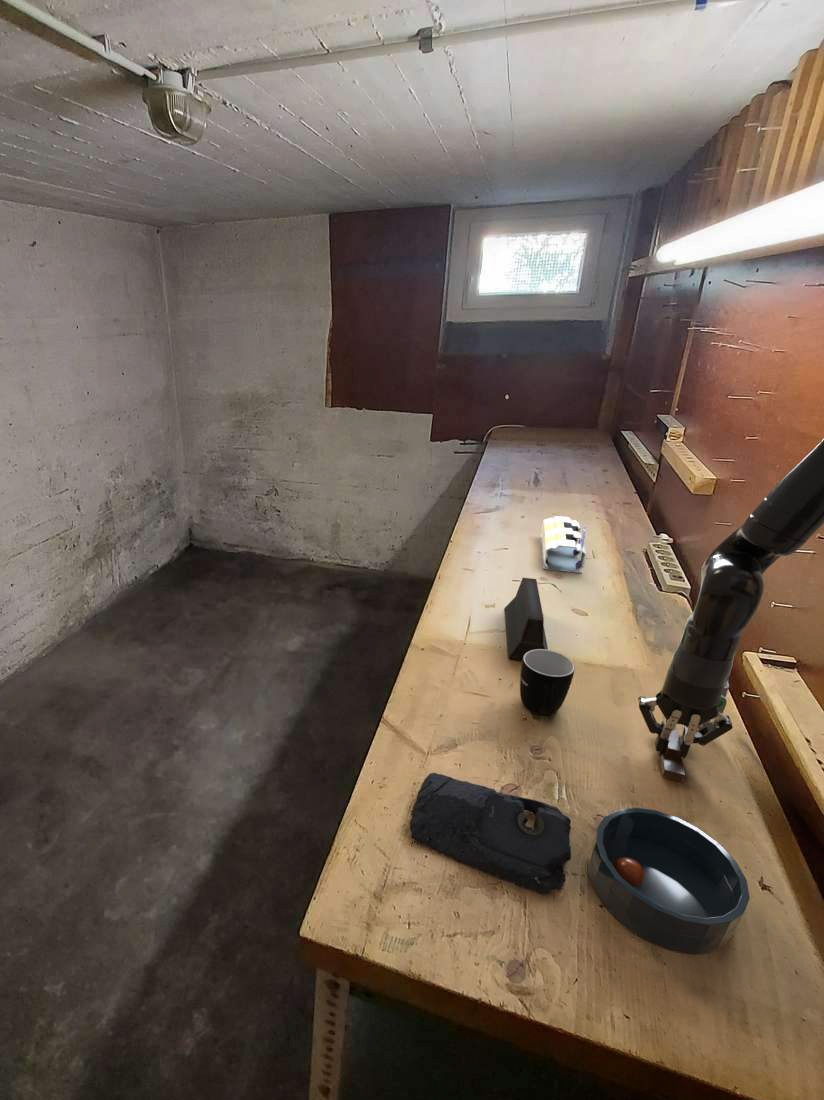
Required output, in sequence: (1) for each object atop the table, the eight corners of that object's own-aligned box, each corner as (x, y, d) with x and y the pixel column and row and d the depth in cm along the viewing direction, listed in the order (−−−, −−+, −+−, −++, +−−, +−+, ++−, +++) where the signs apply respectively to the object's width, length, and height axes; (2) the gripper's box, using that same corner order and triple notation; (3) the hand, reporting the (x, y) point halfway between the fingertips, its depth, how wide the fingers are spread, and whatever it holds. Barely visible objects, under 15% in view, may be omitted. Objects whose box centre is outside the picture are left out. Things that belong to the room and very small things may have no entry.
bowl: (698, 846, 81) (711, 817, 78) (760, 967, 66) (778, 936, 64) (574, 829, 84) (582, 800, 81) (608, 940, 70) (619, 910, 67)
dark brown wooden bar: (656, 731, 102) (660, 718, 101) (674, 735, 101) (678, 722, 99) (662, 776, 92) (667, 763, 91) (682, 782, 91) (687, 768, 90)
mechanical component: (691, 740, 100) (708, 695, 95) (693, 708, 107) (709, 665, 103) (711, 746, 98) (729, 701, 94) (712, 713, 106) (729, 670, 101)
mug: (514, 687, 115) (522, 645, 110) (562, 695, 112) (572, 652, 108) (516, 725, 105) (524, 681, 100) (568, 735, 102) (580, 690, 97)
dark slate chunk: (427, 771, 95) (430, 749, 93) (570, 817, 86) (576, 795, 84) (401, 841, 83) (403, 818, 81) (564, 904, 74) (571, 880, 72)
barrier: (550, 665, 121) (559, 625, 117) (507, 659, 124) (514, 620, 119) (541, 612, 141) (548, 576, 137) (504, 607, 144) (510, 572, 139)
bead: (635, 871, 77) (641, 853, 75) (644, 895, 74) (651, 877, 72) (606, 866, 78) (612, 849, 76) (614, 891, 74) (621, 873, 73)
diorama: (582, 573, 160) (591, 530, 154) (542, 568, 163) (550, 526, 157) (575, 540, 180) (583, 502, 175) (540, 537, 184) (547, 499, 178)
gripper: (746, 669, 89) (713, 752, 97) (646, 650, 95) (622, 729, 102) (757, 697, 83) (720, 782, 91) (649, 674, 89) (623, 756, 96)
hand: (668, 754), depth 96 cm, fingers closed on dark brown wooden bar, 2 cm apart
